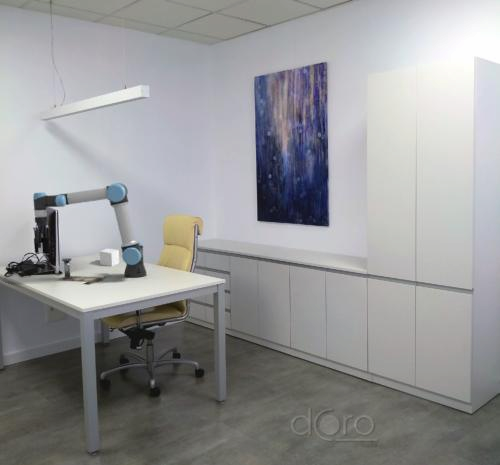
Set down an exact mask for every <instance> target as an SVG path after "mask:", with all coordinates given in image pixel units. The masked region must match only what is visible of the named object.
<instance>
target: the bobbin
mask: <svg viewBox="0 0 500 465" xmlns="http://www.w3.org/2000/svg"><path fill="white" fill-rule="evenodd" d="M71 261H72V258H70V257H69V258H61V262H63V270H64V273H63V274H64V276H63V277H62V278H63V279H72V276H73V275H71Z"/></svg>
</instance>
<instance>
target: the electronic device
mask: <svg viewBox="0 0 500 465" xmlns="http://www.w3.org/2000/svg"><path fill="white" fill-rule="evenodd" d="M41 243H42V246H43V253H42V254H49V253H52V252H53V242H52V237H51V236H50V237H43V236H42V239H41ZM33 245H34V253H35V254H40V253H39V251H38V243H36V242H35V237H34V238H33Z"/></svg>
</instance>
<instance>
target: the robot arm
mask: <svg viewBox="0 0 500 465" xmlns="http://www.w3.org/2000/svg"><path fill="white" fill-rule="evenodd" d="M32 198H33V200H32V201H33V210H34V222H35V223H36V225H35V227H34V226H33V228H32V229H33V232H34V234H33V235H34V238H35V242H36V243H38V251H39V253H38V254H44V253H43V246H42V243H41V239H42V237H51V236H50V235H51V234H50V227H51V226H50V225H48V224H47V223H48V210H47V209H48V208H58V207H59V208H63V207H65V206H68V205H75V204H81V203H82V204H83V203H88V202H95V201H96V202H97V201H103V200H108V202H109V204H110V207H112V208H113V209H114V210H113V211H114V215H115V219H116V222H117V227H118V231H119V234H120V239H121V242H122V244H121V245H120V249H121V253H122V256H121V258H122V260H123V262H124V263H125V264H126V265H125V269H124V272H123V274H124V275H123V276H124V277H125V278H142V277H146V276H148V275H147V270H146V267H145V264H144V262H145V261H144V243H142V242H139V241H137V239H136V237H135V234H134V228H133V224H132V220H131V216H130V213H129V208H128V204H129V200H128V199H129V198H128V188H127V186H126V185H125V184H123V183H121V182H114V183H113V184H110V185H106V187H102V188H97V189H96V188H95V189H94V188H93V189H90V190H88V189H87V190H82V191H81V190H80V191H75V192H68V193H60V194H59V193H58V194H53V195H48V194H47V193H46V192H34V193H33V197H32Z"/></svg>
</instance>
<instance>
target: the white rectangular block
mask: <svg viewBox="0 0 500 465" xmlns="http://www.w3.org/2000/svg"><path fill="white" fill-rule="evenodd" d="M99 260H100V261H99V262H100V265H102V266H107V267H114V266H116V265H118V264H119V263H120V250H119V249H114V248H103V249H102V250H100V251H99Z"/></svg>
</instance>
